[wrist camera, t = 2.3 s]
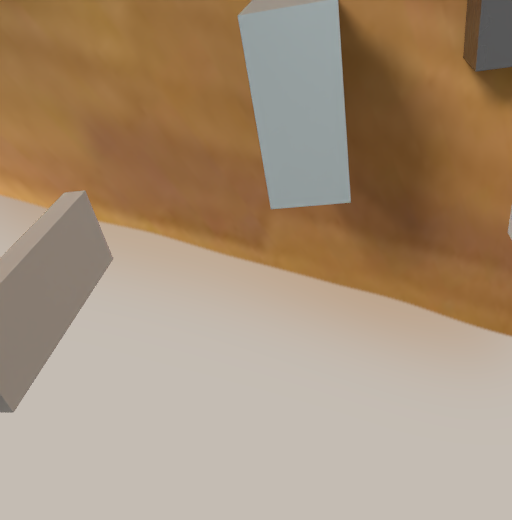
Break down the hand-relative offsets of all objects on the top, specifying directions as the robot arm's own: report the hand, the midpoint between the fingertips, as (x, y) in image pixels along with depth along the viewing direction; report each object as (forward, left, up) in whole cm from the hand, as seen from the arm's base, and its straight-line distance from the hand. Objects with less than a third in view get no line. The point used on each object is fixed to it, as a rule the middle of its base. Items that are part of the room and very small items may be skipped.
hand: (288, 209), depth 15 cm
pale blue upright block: (0, 0, -18) cm, 18 cm away
